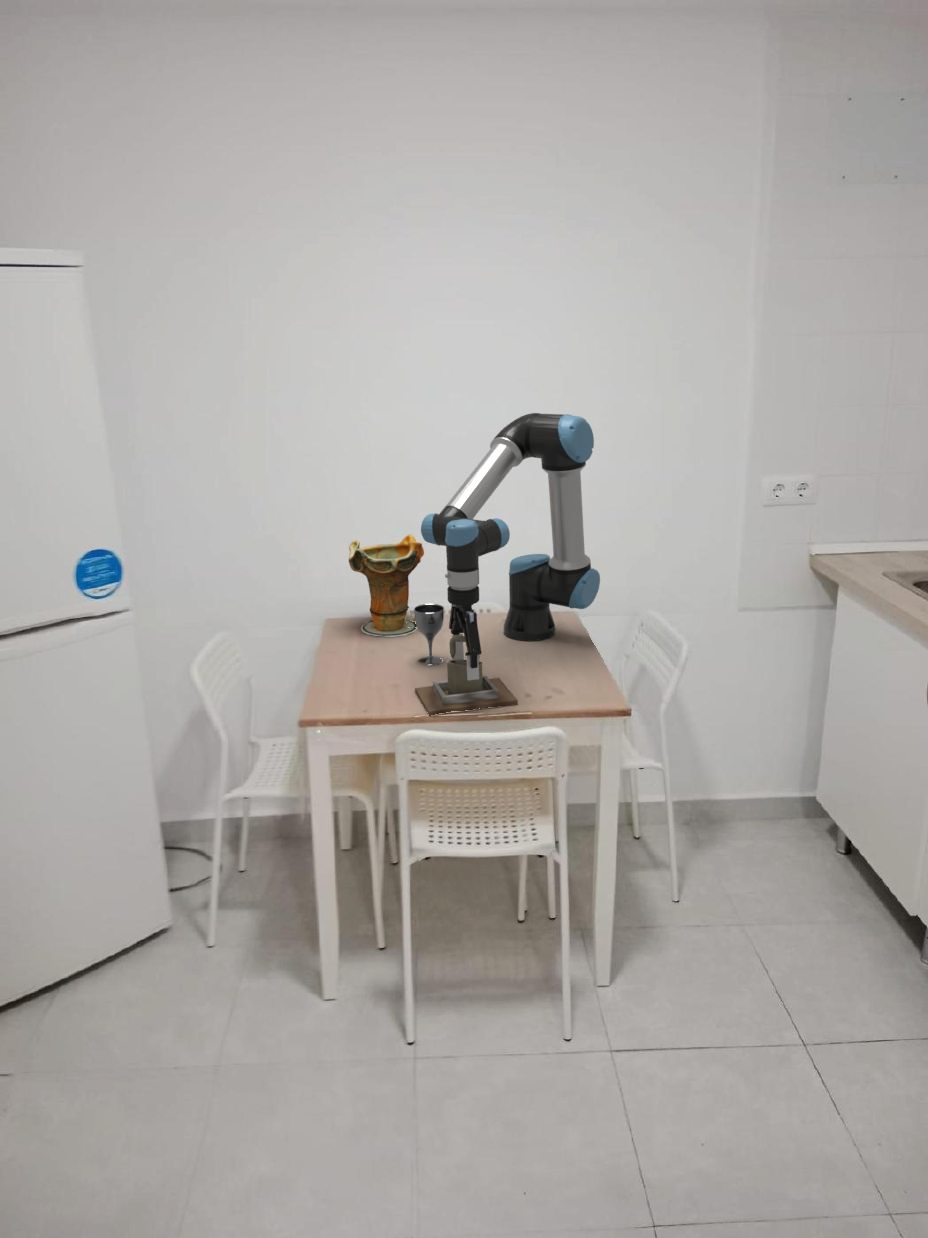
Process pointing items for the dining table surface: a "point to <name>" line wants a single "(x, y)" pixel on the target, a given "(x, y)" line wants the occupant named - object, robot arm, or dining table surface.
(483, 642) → the dining table surface
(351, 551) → the decorative vase
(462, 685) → the padlock
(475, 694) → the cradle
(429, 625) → the wine glass
